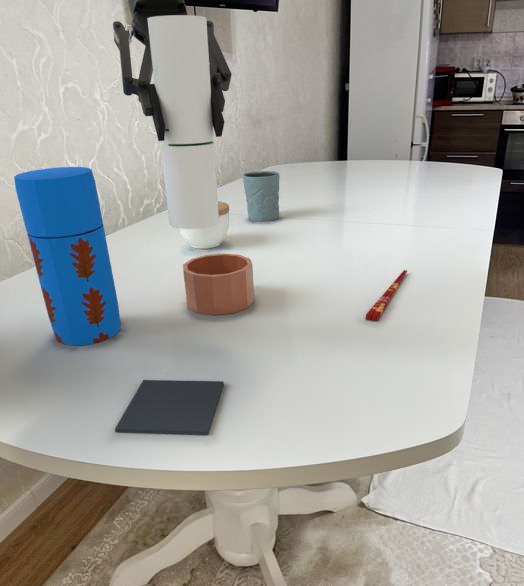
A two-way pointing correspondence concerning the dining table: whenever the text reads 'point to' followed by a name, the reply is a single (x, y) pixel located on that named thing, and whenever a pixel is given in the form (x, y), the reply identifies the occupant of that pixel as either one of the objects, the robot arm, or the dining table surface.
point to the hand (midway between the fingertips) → (191, 131)
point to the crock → (219, 283)
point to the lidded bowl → (209, 231)
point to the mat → (172, 407)
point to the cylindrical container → (185, 118)
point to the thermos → (70, 252)
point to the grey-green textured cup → (262, 195)
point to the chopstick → (384, 299)
